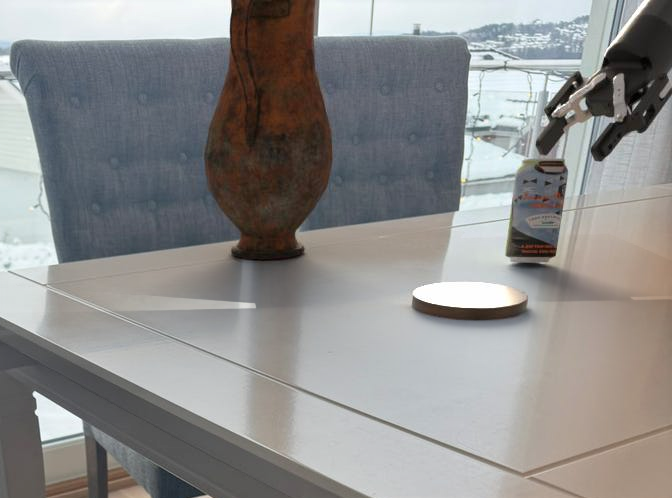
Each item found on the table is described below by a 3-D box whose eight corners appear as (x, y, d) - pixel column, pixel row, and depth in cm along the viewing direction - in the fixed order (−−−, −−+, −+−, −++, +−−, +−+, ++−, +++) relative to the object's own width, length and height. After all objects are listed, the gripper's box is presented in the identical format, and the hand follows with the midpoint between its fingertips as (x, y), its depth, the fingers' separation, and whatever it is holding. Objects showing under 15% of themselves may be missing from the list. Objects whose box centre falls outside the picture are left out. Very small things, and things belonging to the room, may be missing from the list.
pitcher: (342, 244, 131) (358, -17, 115) (299, 275, 114) (311, -24, 98) (231, 238, 136) (231, -11, 120) (175, 267, 120) (166, -17, 103)
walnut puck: (505, 310, 98) (509, 280, 96) (537, 339, 89) (543, 306, 87) (400, 313, 98) (403, 283, 96) (422, 341, 89) (425, 309, 87)
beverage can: (512, 270, 114) (529, 161, 108) (494, 258, 120) (509, 154, 114) (563, 268, 114) (583, 159, 108) (542, 257, 121) (560, 153, 114)
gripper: (596, 13, 113) (510, 126, 115) (699, 9, 103) (604, 133, 104) (616, 63, 118) (534, 170, 120) (716, 64, 108) (625, 182, 109)
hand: (566, 153), depth 112 cm, fingers open, 8 cm apart
